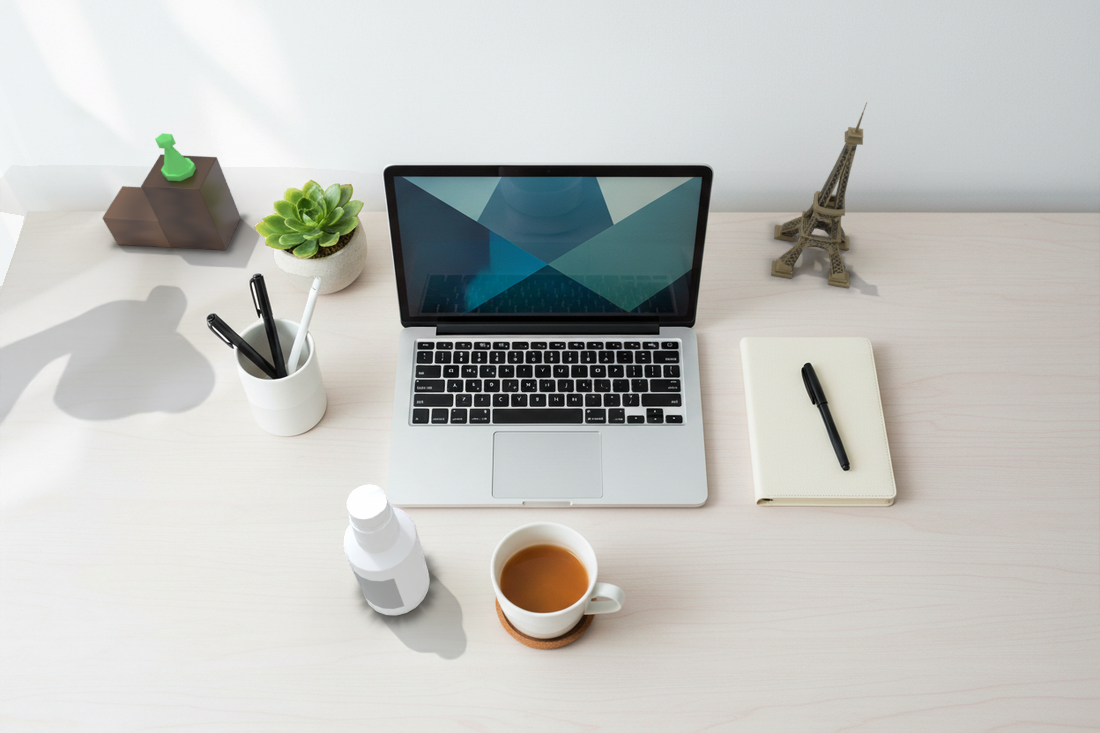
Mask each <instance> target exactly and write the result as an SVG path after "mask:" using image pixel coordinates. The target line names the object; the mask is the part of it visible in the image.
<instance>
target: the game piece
mask: <svg viewBox="0 0 1100 733" xmlns="http://www.w3.org/2000/svg"><path fill="white" fill-rule="evenodd" d="M155 142H156V144H157V147H158V148H159V149H164V151H163V155H164V166H163V167H162V169H161V172H162V174H163V175H164V176H165V177H166V179H167V180H168V181H182V180H184V179H186V178H189V177H191V176H192V175H193V173H194V171H195V169H196V167H195V165H194V163H193V162H192V161H191V160H190V159H189V158H184V157H183V156H184V155H183V156H182V154H181V152H179V151H178V150H177V149H176V148H175V147H174V146H175V145H176V144H177V142H176V140H175V138H174V136H173V134H172V133H163V132H162V133H160V134H159V135H158V136H157V137H155Z"/></svg>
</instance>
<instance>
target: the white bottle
mask: <svg viewBox="0 0 1100 733" xmlns="http://www.w3.org/2000/svg"><path fill="white" fill-rule="evenodd" d="M346 510H347V513H348V521H349V524H348V526H347V528H346V529H345V533H344V537H343V541H342V545H343V552H344V555H345V557H346V559H347V562H348V563H349V566H350V568H351V570H352V572H353V574H354V576H355V579H356V581H357V583H358V584H359V587H360V590H361V591H362V594H363V596H364V599H365V600H366V602H367V604H368V606H370V607H371V608H372V609H373V610H374V611H376V612H378V613H380V614H382V615H385V616H399V615H404V614H407V613H409V612H410V611H413V610H414V609H416V608H417V607H418V606H419V605H420V604H421V603H422V602H423V601H424V599H425V598H426V596H427V593H428V591H429V589H430V582H431V581H430V580H431V579H430V573H429V569H428V566H427V562H426V558H425V555H424V551H423V547H422V544H421V540H420V537H419V533H418V530H417V527H416V524H415V522H414V520H413V519H412V518H411V516H410V515H409V514H408V513H406V512H405V511H404V510H403V509H401V508H399V507H396V506H393V505H392V503H391V501H390V499H388V497H387V495H386V493H385V491H384V489H382V488H381V487H380V486H378V485H375V484H363V485H360V486H358V487H356V488H355V489H353V490H352V491H351V492H350V493H349V496H348V497H347V500H346Z"/></svg>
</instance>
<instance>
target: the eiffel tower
mask: <svg viewBox="0 0 1100 733" xmlns="http://www.w3.org/2000/svg"><path fill="white" fill-rule="evenodd" d="M867 104H868V102H867V101H866V103H865V105H864V108H863V110H862V112H861V115H860V117H859V119H858V122H857V124H856V127H851V126H848V127H847V130H845V131H844V145H843V147H842V149H841V152H840V153H839V155H838V158H837V159H836V161H835V164H834V165H833V167H832V170H830V172H829V175H828V176H827V179H826V180H825V183H823V184H824V185H823V186H822V188H821V190H816V191H815V193H814V194H813V201H812V204H811V205H810V207H809V208H808V209H807V210H802V213H801V216H799V217H796V218H794V219H791V220H789V221H786V222H784V223H782V224H781V225H780V224H775V226H774V236H773V239H775V240H781V241H787V242H794V241H795V236H796V235H797V243H796V244H795V245H794V246H792V247H791V248H790V249H789V250H787V251H785V252H784V253H783V254H782V255H781V256H779V257H778V258H776V260H772V263H771V272H770V273H771V274H770V275H771V276H773V277H778V278H785V279H792V277H793V269H794V266H795V264H796V263H797V261H798V259H799V257H800V256H801V254H802V252H803V251H804V250H806V249H811V248H813V249H814V248H818V249H821V250H824V251H825V252H826V253H828V255H829V263H830V267H828V271H827V285H828V286H833V287H839V288H840V287H841V288H847V289H849V287H850V272H848V271H847V267H846V265H845V263H844V261H843V258H842V255H841V251H840V250H844V251H849V249H850V244H849V243H850V242H849V241H850V240H849V235H846V232H845V230H844V229H843V227H842V217H845V216H846V192H847V187H848V182H849V178H850V174H851V170H852V167H853V162H854V158H855V154H856V151H857V148H858V145H859V146H861V145H862V146H863V145H864V128H860V126H861V123H862V119H863V116H864V112H865V110H866V107H867ZM836 186H837V188H836ZM835 188H836V192H835V194H833V193H834V190H835ZM814 230H821V231H824V232H825V233H826V234H827V235H828V236H827V235H819V234H813V233H814Z"/></svg>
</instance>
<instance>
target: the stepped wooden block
mask: <svg viewBox="0 0 1100 733" xmlns="http://www.w3.org/2000/svg"><path fill="white" fill-rule="evenodd" d="M181 155H182V154H181ZM182 156H183V157H184V158H189V159H190V160H191V161H192V162H193V163H194V165H195V167H196V169H195V171H194V173H193V175H192V176H191V177H189V178H186V179H184V180H182V181H168V180H167V179H166V177H165V176H164V175H163V174H162V172H161V169H162V167H163V166H164V154H159V155H158V158H157V159H156V161H155V163H154V164H153V166H152V167H151V169H150V171H149V173H148V174H147V176H146V177H145V179H144V181H143V182H142V184H141V185H140V186H127V185H126V186H125V185H123V186H121V188H120V189H119V191H118V192H117V194H116V195H115V197H114V199H113V201H112V202H111V204H110V205H109V207H108V208H107V210H106V211H105V212H104V215H103V216H102V221H103V222H104V224H105V225H106V227H107V229H108V231H109V233H110V235H111V236H112V238H113V240H114V241H115V243H116V244H117V245H121V246H137V247H138V246H139V247H141V246H142V247H156V248H157V247H161V248H179V249H198V250H218V251H226V250H227V249H228V246H229V245H230V243H231V240H232V238H233V236H234V234H235V231H236V230H237V227H238V225H239V223H240V221H241V219H242V217H241V214H240V211H239V209H238V207H237V205H236V202H235V200H234V197H233V194H232V192H231V189H230V187H229V184H228V182H227V179H226V176H225V174H224V172H223V169H222V166H221V164H220V161H219V159H218V157H217V156H202V155H182Z"/></svg>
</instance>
